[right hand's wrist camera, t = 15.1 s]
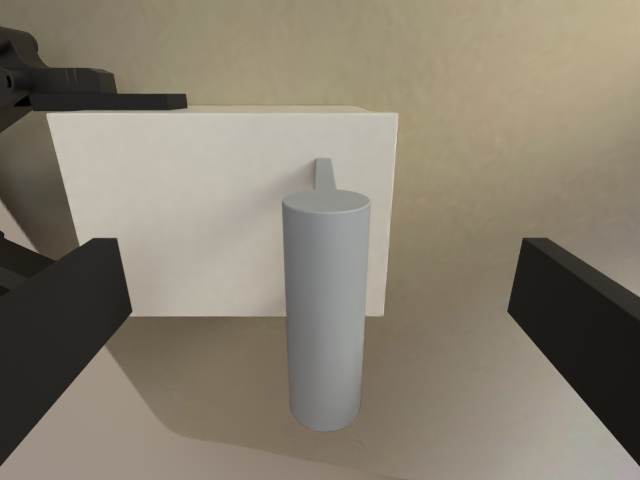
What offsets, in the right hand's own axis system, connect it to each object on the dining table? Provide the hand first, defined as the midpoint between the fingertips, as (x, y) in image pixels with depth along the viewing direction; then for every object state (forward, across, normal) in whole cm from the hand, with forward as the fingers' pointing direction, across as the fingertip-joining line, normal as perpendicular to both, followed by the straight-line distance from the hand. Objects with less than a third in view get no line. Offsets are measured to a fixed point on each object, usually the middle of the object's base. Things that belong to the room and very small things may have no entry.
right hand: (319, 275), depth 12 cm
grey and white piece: (+6, -4, 0) cm, 8 cm away
